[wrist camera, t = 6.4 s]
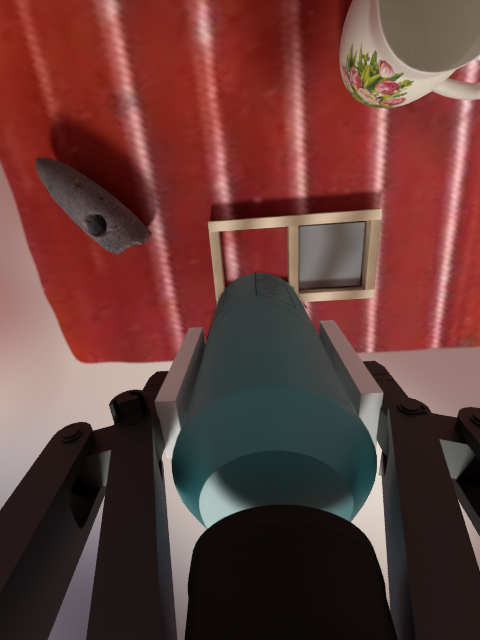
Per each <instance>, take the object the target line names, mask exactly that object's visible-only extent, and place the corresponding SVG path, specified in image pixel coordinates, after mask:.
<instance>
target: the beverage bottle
mask: <svg viewBox="0 0 480 640" xmlns="http://www.w3.org/2000/svg"><path fill="white" fill-rule="evenodd" d="M266 273H268V272H266ZM266 273H256V272H255V273H254V274H249V275H245V276H242V277H240V278H238V279H236V280H235V281H233V282H232V283H231V284H230V285H229V286H228V284H227V288H226V289H225V290H224V291H223V289H222V292H223V293H221V294H220V295H221V296H220V297H219V299H218V304H217V303H216V304H215V305H217V307H216V310H215V309H213V310H215V314H214V313H212V315H214V317H213V316H212V317H213V318H212V320H213V321H212V323H211V325H210V329H209V333H208V336H207V341H206V345H205V348H204V352H203V357H202V362H201V365H200V368H199V372H198V375H197V379H196V382H195V386H194V389H193V393H192V396H191V400H190V403H189V406H188V410H187V413H186V417H185V420H184V424H183V427H182V429H181V430H180V432H179V434H178V436H177V440H176V443H175V446H174V449H173V455H172V473H173V479H174V483H175V486H176V488H177V491H178V493H179V495H180V497H181V499H182V501H183V503H184V504H185V505H186V507H187V508H188V509H189V511H190V512H191V513H192V514H193V515H194V516H195V517H196V518H197V519H198V520H199V522H200V523H201V524H202V525H204V527H206V529H207V530H206V531H205V532H204V533H203V534H202V535H201V536H200V538H199V539H198V541H197V542H196V544H195V547H194V550H193V554H192V560H191V567H190V572H189V578H188V579H189V580H188V596H189V601H188V610H187V621H186V630H185V640H398V638H397V634H396V631H395V627H394V623H393V620H392V616H391V613H390V609H389V605H388V602H387V598H386V590H385V582H384V578H383V575H382V571H381V568H380V565H379V562H378V560H377V557H376V554H375V551H374V548H373V546H372V544H371V542H370V541H369V539H368V538H367V536H366V535H365V534H364V533H363V532H362V531H361V530H360V529H359V528H358V527H356V526H355V525H353V524H352V523H351V521H352V520H353V518H354V517H355V516H356V514H357V513H358V512H359V510H360V509H361V508H362V506H363V505H364V503H365V501H366V500H367V498H368V496H369V494H370V492H371V490H372V487H373V484H374V481H375V476H376V471H377V455H376V450H375V445H374V443H373V441H372V438H371V436H370V433H369V431H368V429H367V428H366V426H365V425H364V423H363V421H362V420H361V418H360V417H359V416H358V415H357V413H356V411H355V409H354V407H353V405H352V403H351V401H350V399H349V397H348V395H347V393H346V391H345V389H344V387H343V385H342V383H341V381H340V379H339V377H338V375H337V373H336V370H335V369H334V367H335V365H334V367H333V365H332V363H331V361H330V359H329V356H328V354H327V352H326V347H324V345H323V343H322V341H321V339H322V337H321V339H320V337H319V335H321V334H318V333H317V332H316V330H315V328H314V326H313V324H312V322H311V320H310V318H309V316H308V315H307V313H306V311H305V309H304V308H305V307H306V305H305V304H304V305H305V307H303V306H304V305H302V303H301V301H300V299H299V298H300V297H301V296H300V297H299V298H298V296H299V295H298V294H299V293H298V294H296V292H295V291H294V288H293V287H291V286H290V285H289V284H288V283H287V282H286V281H284V280H283V278H282V279H281V278H279V277H277V276H275V275H276V274H275V275H271V274H272V273H271V274H266ZM288 282H289V281H288ZM295 289H296V288H295ZM297 295H298V296H297ZM217 298H218V297H217ZM301 299H302V298H301ZM302 301H303V300H302ZM216 302H217V301H216ZM306 308H307V307H306ZM306 310H307V309H306ZM309 313H310V312H309ZM312 320H313V319H312ZM210 322H211V320H210ZM315 324H316V323H315ZM208 327H209V326H208ZM316 327H317V325H316ZM318 329H319V328H318ZM317 331H319V332H320V330H317ZM205 336H206V335H205ZM321 336H322V335H321ZM324 344H325V343H324ZM328 348H329V347H328ZM199 359H200V357H199ZM332 359H333V358H332ZM333 362H334V361H333Z"/></svg>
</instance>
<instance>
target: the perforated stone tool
mask: <svg viewBox="0 0 480 640" xmlns="http://www.w3.org/2000/svg"><path fill="white" fill-rule="evenodd" d="M35 165H36V170H37V173H38V175H39V177H40V179H41V181H42V182H43V184H44V185H45V186H46V188H47V189H48V190H49V192H50V195H51V196H52V197H53V199H54V200H55V201H56V202H57V203H58V204H59V206H61V207H62V208H63V209H64V211H65V212H66V213H67V214H68V216H69V217H70V218H71V219H72V220H73V221H74V222H75V223H76V224H77V225H78V226H79V227H80V228H81V229H82V230H83V231H85V233H87V234H88V235H89V236H90V237H91V238H92V239H94V240H95V241H96V242H97V243H98V244H100V245H101V246H102V247H103V248H105V249H106V250H108V251H111V252H113V253H115V254H119V253H120V252H123V251H124V250H126V249H127V248H129V247H131V246H132V245H136V244H138V245H141V244H142V243H144V242H147V241H148V240H149V239H148V238H149V237H150V236H151V234H152V233H151V232H150V230H149V229H148V228H147V227H146V226H145V225H144V224H143V222H142V221H141V220H140V219H139V218H137V217H136V216H135V215H134V214H133V213H132V212H131V211H130V210H129V209H128V208H127V207H126V206H124V205H123V204H122V203H121V202H120V201H119V200H118V199H116V198H115V197H114V196H113V195H111V194H110V193H109V192H107V191H106V190H105V189H103V188H102V187H101V186H99V185H98V184H96V183H95V182H94V181H92V180H91V179H89V178H88V177H86V176H85V175H83V174H82V173H80V172H79V171H77V170H75V169H74V168H72V167H70V166H68V165H66V164H64V163H61V162H59V161H57V160H54V159H50V158H44V157H43V158H41V157H40V158H38V159H36V163H35Z"/></svg>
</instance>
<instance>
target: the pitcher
mask: <svg viewBox="0 0 480 640" xmlns="http://www.w3.org/2000/svg"><path fill="white" fill-rule="evenodd" d="M473 60H478V61H480V0H352V3H351V5H350V8H349V10H348V13H347V16H346V19H345V22H344V26H343V30H342V35H341V41H340V51H339V61H340V70H341V75H342V78H343V81H344V84H345V86H346V88H347V90H348V91H349V92H350V94H351V95H352V96H353V97H354V98H355V99H356V100H358V101H359V102H360V103H362V104H364V105H367V106H370V107H374V108H392V107H397V106H401V105H405V104H408V103H410V102H412V101H414V100H417V99H419V98H421V97H422V96H424V95H426V94H427V93H429V92H431V91H433V92H435V93H438V94H440V95H443V96H446V97H450V98H454V99H461V100H475V99H480V82H478V83H469V82H462V81H457V80H453V79H450V78H448V77H449V76H450V75H451V74H452V73H453V72H454V71H455V70H456V69H458V68H460V67H462V66H464V65H466V64H468V63H469V62H471V61H473Z"/></svg>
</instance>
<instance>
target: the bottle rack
mask: <svg viewBox="0 0 480 640" xmlns="http://www.w3.org/2000/svg"><path fill="white" fill-rule="evenodd" d="M381 218H382V209H366V210H353V211H340V212H326V213H313V214H300V215H286V216H273V217H259V218H246V219H233V220H219V221H209V222H208V227H209V236H210V246H211V255H212V264H213V274H214V283H215V292H216V301H217V304H218V299H219V297H220V296H221V295H220V294H221V293H223V292H222V289H223V291H224V290H225V280H224V269H223V258H222V248H221V237H220V231H230V230H244V229H257V228H271V227H285V226H287V252H288V281H289V282H288V284H289V285H290V286H291V287H293V288H294V291H295V292H296V294H298V293H299V294H298V295H299V296H298V295H297V296H298V298H299V297H300V296H301V297H300V298H299V299H300V301H301V302H310V301H327V300H344V299H361V298H374V288H375V278H376V268H377V258H378V248H379V238H380V228H381ZM354 221H365V222H354ZM340 222H354V223H340ZM326 223H340V224H327V225H313V224H326ZM299 225H313V226H299ZM364 226H365V234H364ZM363 238H364V246H363ZM362 250H363V258H362ZM361 263H362V271H361ZM298 264H299V272H298ZM360 275H361V283H360ZM354 285H360V286H354ZM337 286H351V287H337ZM321 287H335V288H321ZM295 288H296V289H295ZM298 288H299V289H301V290H298ZM304 288H318V289H304ZM217 297H218V298H217ZM301 298H302V299H301ZM302 300H303V301H302Z"/></svg>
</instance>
